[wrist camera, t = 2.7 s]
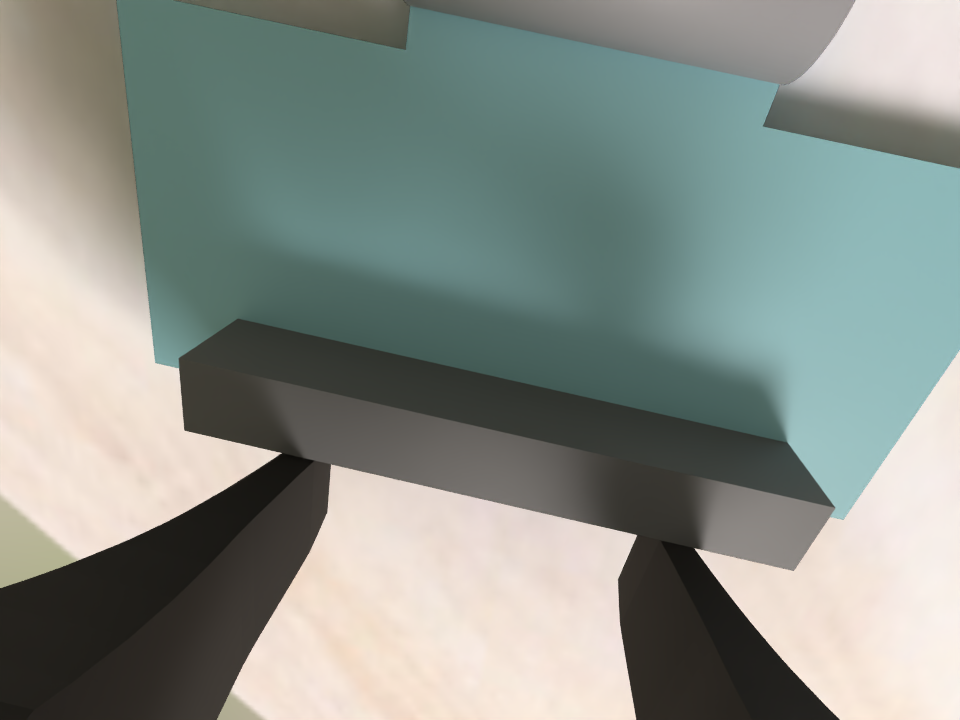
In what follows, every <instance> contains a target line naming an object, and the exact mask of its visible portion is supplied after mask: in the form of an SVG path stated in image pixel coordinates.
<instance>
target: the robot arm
mask: <svg viewBox="0 0 960 720" xmlns="http://www.w3.org/2000/svg"><path fill="white" fill-rule="evenodd" d="M330 469H331V464H328V463H323V462H319V461H315V460H310V459H306V458H302V457H297V456H293V455H289V454H284V453H282V454H280V455H279V456H277V457H276V458H274V459H273V460H271V461H270V462H268V463H266V464H265V465H263V466H262V467H260V468H259V469H257V470H256V471H254V472H253V473H251V474H249V475H248V476H246V477H245V478H243V479H241V480H240V481H238V482H237V483H235V484H233V485H232V486H230V487H229V488H227V489H225V490H224V491H222V492H220V493H219V494H217V495H215V496H213V497H211V498H210V499H208V500H206V501H204V502H203V503H201V504H199V505H197V506H196V507H194V508H192V509H190V510H189V511H187V512H185V513H183V514H181V515H179V516H177V517H175V518H174V519H172V520H170V521H168V522H166V523H164V524H162V525H160V526H157V527H155V528H153V529H151V530H149V531H147V532H145V533H143V534H140V535H138V536H136V537H134V538H132V539H130V540H127V541H125V542H123V543H120V544H118V545H115V546H113V547H111V548H108V549H106V550H103V551H101V552H98V553H96V554H93V555H91V556H88V557H86V558H83V559H81V560H79V561H76V562H74V563H71V564H69V565H66V566H63V567H61V568H58V569H55V570H53V571H50V572H47V573H45V574H41V575H39V576H36V577H33V578H30V579H27V580H24V581H21V582H18V583H15V584H12V585H9V586H6V587H3V588H0V720H217V718H218V715H219V714H220V712H221V709H222V707H223V706H224V703H225V701H226V699H227V697H228V695H229V693H230V691H231V689H232V687H233V685H234V683H235V681H236V679H237V677H238V674H239V672H240V670H241V668H242V666H243V664H244V663H245V661H246V659H247V657H248V655H249V653H250V652H251V650H252V648H253V646H254V644H255V643H256V641H257V639H258V638H259V636H260V634H261V633H262V631H263V629H264V628H265V626H266V624H267V623H268V621H269V619H270V618H271V616H272V614H273V613H274V611H275V609H276V608H277V606H278V604H279V603H280V601H281V599H282V598H283V596H284V594H285V593H286V591H287V589H288V588H289V586H290V584H291V583H292V581H293V579H294V578H295V576H296V574H297V572H298V571H299V569H300V567H301V566H302V564H303V562H304V561H305V559H306V557H307V555H308V554H309V552H310V550H311V548H312V545H313V543H314V541H315V539H316V537H317V534H318V532H319V530H320V528H321V525H322V523H323V521H324V518H325V516H326V514H327V509H328V495H329V482H330ZM618 589H619V612H620V626H621V633H622V639H623V645H624V651H625V657H626V663H627V668H628V674H629V680H630V686H631V691H632V697H633V703H634V708H635V714H636V720H840V719H839V718H838V717H837V716H835V715H834V714H833V713H832V712H831V711H830V710H829V709H828V708H827V707H826V706H825V705H824V704H823V702H822V701H821V700H820V699H819V698H818V697H817V696H816V695H815V694H814V693H813V692H812V691H811V690H810V689H809V688H808V687H807V686H806V685H805V684H804V682H803V681H802V680H801V679H800V678H799V677H798V676H797V675H796V674H795V673H794V672H793V671H792V670H791V669H790V668H789V666H788V665H787V664H786V663H785V662H784V661H783V660H782V659H781V658H780V656H779V655H778V654H777V653H776V652H775V651H774V649H773V648H772V647H771V646H770V645H769V644H768V642H767V641H766V640H765V639H764V638H763V637H762V635H761V634H760V633H759V632H758V631H757V629H756V628H755V627H754V626H753V625H752V623H751V622H750V621H749V620H748V619H747V617H746V616H745V615H744V614H743V612H742V611H741V610H740V609H739V607H738V606H737V605H736V604H735V602H734V601H733V600H732V598H731V597H730V596H729V595H728V593H727V592H726V591H725V589H724V588H723V587H722V585H721V584H720V583H719V581H718V580H717V579H716V577H715V576H714V575H713V573H712V572H711V571H710V569H709V568H708V567H707V565H706V564H705V563H704V561H703V560H702V559H701V557H700V556H699V555H698V553H697V552H696V550H695V549H694V548H692V547H688V546H684V545H679V544H675V543H671V542H666V541H662V540H657V539H653V538H649V537H644V536H640V535H637V537H636V540H635V542H634V544H633V547H632V549H631V551H630V553H629V556H628V558H627V560H626V563H625V565H624V567H623V569H622V572H621V574H620V576H619V578H618Z"/></svg>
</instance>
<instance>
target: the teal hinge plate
mask: <svg viewBox="0 0 960 720" xmlns="http://www.w3.org/2000/svg"><path fill="white" fill-rule="evenodd" d="M116 1H117V11H118V20H119V29H120V38H121V48H122V57H123V66H124V76H125V85H126V94H127V104H128V113H129V122H130V132H131V141H132V150H133V159H134V169H135V178H136V187H137V197H138V206H139V215H140V225H141V234H142V243H143V253H144V262H145V271H146V280H147V290H148V299H149V308H150V318H151V327H152V336H153V346H154V355H155V363H158V364H162V365H167V366H171V367H175V368H179V371H180V383H181V395H182V407H183V419H184V430H185V431H189V432H193V433H198V434H202V435H206V436H211V437H215V438H219V439H224V440H228V441H232V442H237V443H241V444H245V445H250V446H254V447H258V448H263V449H267V450H271V451H276V452H280V453H284V454H289V455H293V456H297V457H302V458H306V459H310V460H315V461H319V462H323V463H328V464H332V465H336V466H341V467H345V468H349V469H354V470H358V471H362V472H367V473H371V474H376V475H380V476H384V477H389V478H393V479H397V480H402V481H406V482H410V483H415V484H419V485H423V486H428V487H432V488H436V489H441V490H445V491H449V492H454V493H458V494H462V495H467V496H471V497H475V498H480V499H484V500H488V501H493V502H497V503H501V504H506V505H510V506H514V507H519V508H523V509H527V510H532V511H536V512H540V513H545V514H549V515H553V516H558V517H562V518H566V519H571V520H575V521H579V522H584V523H588V524H592V525H597V526H601V527H605V528H610V529H614V530H618V531H623V532H627V533H631V534H636V535H640V536H644V537H649V538H653V539H657V540H662V541H666V542H671V543H675V544H679V545H684V546H688V547H692V548H697V549H701V550H705V551H710V552H714V553H718V554H723V555H727V556H731V557H736V558H740V559H744V560H749V561H753V562H757V563H762V564H766V565H770V566H775V567H779V568H783V569H788V570H792V571H794V570H795V568H796V567H797V565H798V564H799V562H800V561H801V559H802V558H803V556H804V555H805V553H806V552H807V550H808V549H809V547H810V546H811V544H812V543H813V541H814V540H815V538H816V537H817V535H818V534H819V532H820V531H821V529H822V528H823V526H824V525H825V523H826V522H827V520H828V519H829V517H833V518H837V519H842V520H844V518H845V517H846V515H847V514H848V512H849V511H850V509H851V508H852V506H853V505H854V503H855V502H856V501H857V499H858V498H859V496H860V495H861V493H862V492H863V490H864V489H865V487H866V486H867V484H868V483H869V482H870V480H871V479H872V477H873V476H874V474H875V473H876V471H877V470H878V468H879V467H880V466H881V464H882V463H883V461H884V460H885V458H886V457H887V455H888V454H889V452H890V451H891V449H892V448H893V447H894V445H895V444H896V442H897V441H898V439H899V438H900V436H901V435H902V433H903V432H904V430H905V429H906V428H907V426H908V425H909V423H910V422H911V420H912V419H913V417H914V416H915V414H916V413H917V412H918V410H919V409H920V407H921V406H922V404H923V403H924V401H925V400H926V398H927V397H928V395H929V394H930V393H931V391H932V390H933V388H934V387H935V385H936V384H937V382H938V381H939V379H940V378H941V376H942V375H943V374H944V372H945V371H946V369H947V368H948V366H949V365H950V363H951V362H952V360H953V359H954V358H955V356H956V355H957V353H958V352H959V350H960V169H959V168H955V167H950V166H945V165H941V164H936V163H931V162H927V161H922V160H917V159H913V158H908V157H903V156H899V155H894V154H889V153H885V152H880V151H875V150H871V149H866V148H861V147H857V146H852V145H847V144H843V143H838V142H833V141H829V140H824V139H819V138H815V137H810V136H805V135H801V134H796V133H791V132H787V131H782V130H777V129H773V128H768V127H763V125H764V122H765V120H766V117H767V115H768V112H769V110H770V107H771V105H772V102H773V100H774V97H775V95H776V93H777V90H778V88H779V85H786V84H790V83H791V82H793V81H795V80H796V79H798V78H799V77H800V76H802V75H803V74H804V73H805V72H806V71H807V70H808V69H809V68H810V67H811V66H812V65H813V64H814V63H815V61H816V60H817V59H818V58H819V56H820V55H821V54H822V53H823V51H824V50H825V49H826V47H827V46H828V45H829V43H830V42H831V40H832V39H833V37H834V36H835V34H836V33H837V31H838V30H839V28H840V27H841V25H842V23H843V22H844V20H845V18H846V17H847V15H848V13H849V11H850V10H851V8H852V6H853V4H854V2H855V0H404V1H405V3H406V4H407V5H409V6H410V14H409V23H408V32H407V41H406V50H404V49H399V48H394V47H390V46H385V45H380V44H376V43H371V42H366V41H362V40H357V39H352V38H348V37H343V36H338V35H334V34H329V33H324V32H320V31H315V30H310V29H306V28H301V27H296V26H292V25H287V24H282V23H278V22H273V21H268V20H264V19H259V18H254V17H250V16H245V15H240V14H236V13H231V12H226V11H222V10H217V9H212V8H208V7H203V6H198V5H194V4H189V3H184V2H180V1H175V0H116Z"/></svg>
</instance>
